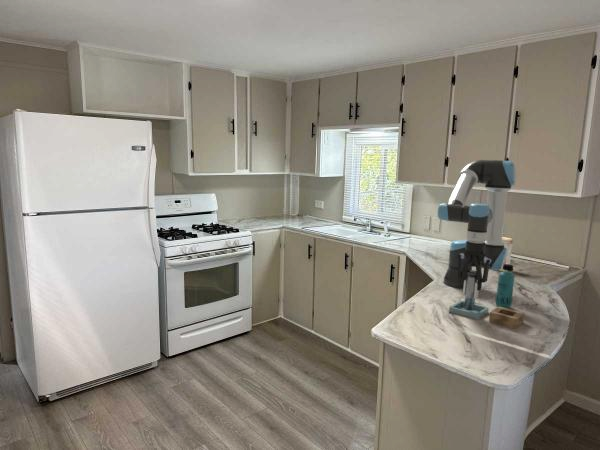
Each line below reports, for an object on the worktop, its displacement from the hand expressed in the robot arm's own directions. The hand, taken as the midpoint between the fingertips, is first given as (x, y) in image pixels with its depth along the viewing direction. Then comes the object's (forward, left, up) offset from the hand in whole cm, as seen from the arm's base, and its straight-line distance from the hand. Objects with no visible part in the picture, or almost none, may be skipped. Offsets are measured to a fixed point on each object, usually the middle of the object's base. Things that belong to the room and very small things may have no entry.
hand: (470, 295), depth 179 cm
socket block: (+15, 0, -8) cm, 17 cm away
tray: (0, 0, -8) cm, 8 cm away
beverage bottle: (+8, +19, -8) cm, 22 cm away
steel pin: (0, 0, -6) cm, 6 cm away
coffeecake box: (-19, +91, -8) cm, 93 cm away
